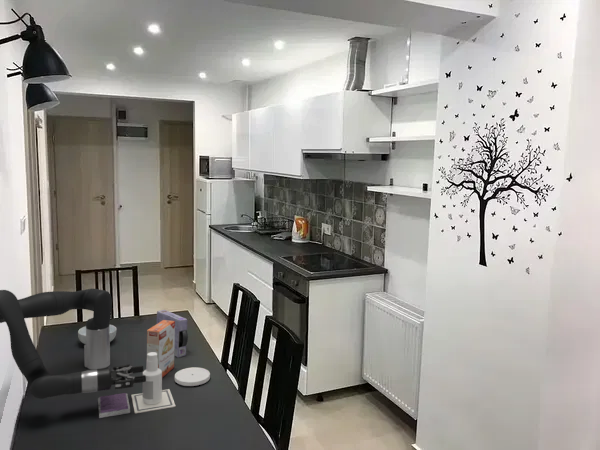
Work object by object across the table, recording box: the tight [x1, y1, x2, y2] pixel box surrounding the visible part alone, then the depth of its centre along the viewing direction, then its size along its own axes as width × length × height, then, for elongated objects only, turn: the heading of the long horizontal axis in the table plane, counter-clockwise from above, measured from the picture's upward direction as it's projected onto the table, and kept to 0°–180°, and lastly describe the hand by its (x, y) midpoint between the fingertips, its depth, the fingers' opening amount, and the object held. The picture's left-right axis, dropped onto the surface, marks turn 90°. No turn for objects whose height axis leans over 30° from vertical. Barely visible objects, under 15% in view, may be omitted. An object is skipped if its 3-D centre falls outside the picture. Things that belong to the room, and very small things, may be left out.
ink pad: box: [97, 392, 131, 419], centre depth 173 cm, size 10×12×2 cm
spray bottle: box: [141, 352, 163, 405], centre depth 177 cm, size 7×7×18 cm
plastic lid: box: [174, 366, 211, 387], centre depth 197 cm, size 14×14×2 cm
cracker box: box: [146, 320, 175, 378], centre depth 200 cm, size 14×6×21 cm, turn 168°
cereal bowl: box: [77, 324, 118, 345], centre depth 231 cm, size 17×17×7 cm
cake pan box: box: [156, 309, 189, 359], centre depth 224 cm, size 19×5×18 cm, turn 50°
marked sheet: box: [131, 388, 176, 414], centre depth 178 cm, size 14×14×1 cm
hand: (144, 373), depth 176 cm, fingers open, 8 cm apart
